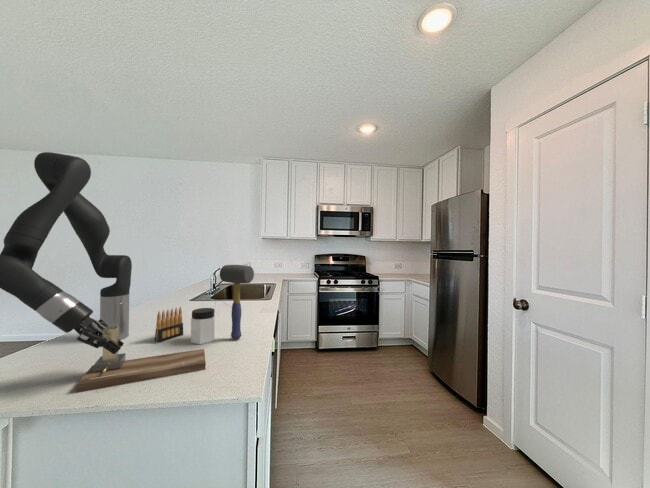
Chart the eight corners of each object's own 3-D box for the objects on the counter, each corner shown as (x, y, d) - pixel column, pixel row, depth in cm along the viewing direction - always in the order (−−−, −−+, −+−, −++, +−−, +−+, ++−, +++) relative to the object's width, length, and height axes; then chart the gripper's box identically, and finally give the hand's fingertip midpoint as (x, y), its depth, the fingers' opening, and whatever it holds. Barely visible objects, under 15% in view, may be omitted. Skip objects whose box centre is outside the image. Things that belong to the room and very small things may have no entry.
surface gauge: (100, 363, 79) (101, 326, 79) (125, 359, 81) (126, 323, 82) (89, 377, 70) (89, 336, 70) (117, 373, 73) (117, 333, 73)
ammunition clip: (157, 343, 101) (158, 311, 101) (154, 342, 102) (155, 311, 102) (183, 334, 111) (183, 306, 111) (180, 334, 112) (181, 305, 112)
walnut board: (92, 372, 78) (92, 365, 78) (204, 354, 91) (204, 348, 91) (76, 392, 67) (76, 384, 67) (205, 369, 80) (205, 362, 80)
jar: (185, 342, 102) (186, 311, 102) (201, 335, 110) (201, 307, 110) (204, 345, 99) (205, 313, 99) (219, 338, 107) (219, 308, 107)
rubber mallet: (254, 338, 108) (255, 264, 108) (243, 344, 101) (244, 265, 101) (229, 334, 112) (230, 263, 112) (216, 340, 105) (218, 264, 105)
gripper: (67, 306, 68) (125, 346, 73) (87, 296, 81) (135, 331, 86) (38, 329, 66) (100, 369, 71) (64, 315, 78) (114, 350, 84)
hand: (119, 348), depth 78 cm, fingers closed on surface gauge, 3 cm apart
